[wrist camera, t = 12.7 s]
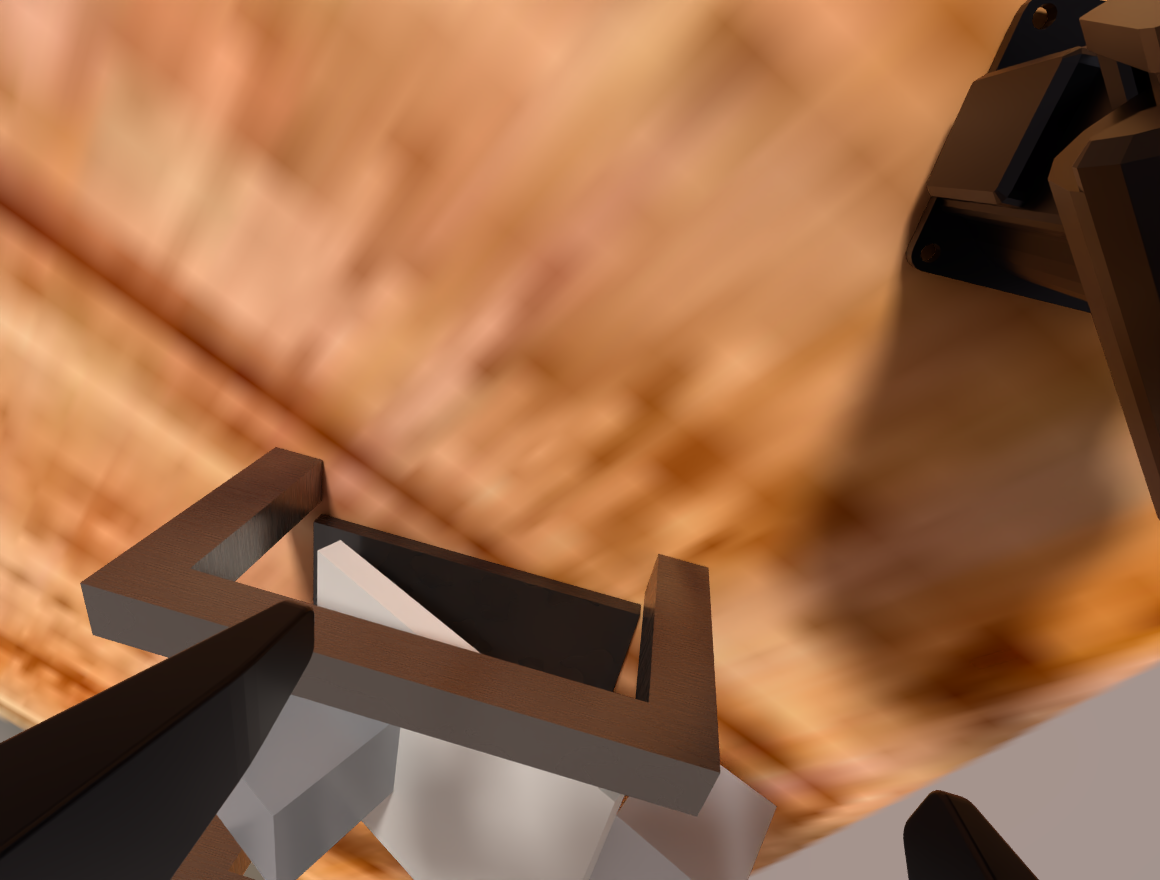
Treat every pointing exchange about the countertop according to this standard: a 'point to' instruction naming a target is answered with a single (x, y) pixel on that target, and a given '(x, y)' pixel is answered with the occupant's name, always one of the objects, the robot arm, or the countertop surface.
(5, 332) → the countertop surface
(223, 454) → the countertop surface
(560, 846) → the trapdoor
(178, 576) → the frame
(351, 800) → the grey matte cube
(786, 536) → the countertop surface
